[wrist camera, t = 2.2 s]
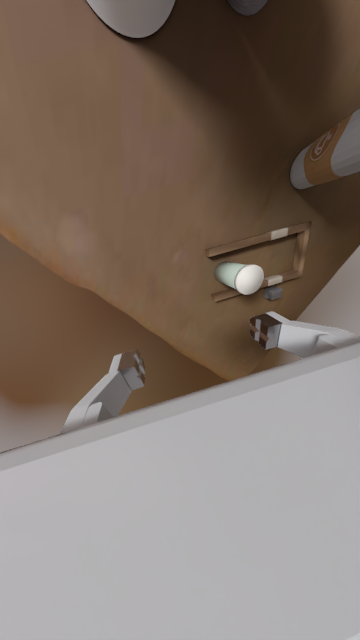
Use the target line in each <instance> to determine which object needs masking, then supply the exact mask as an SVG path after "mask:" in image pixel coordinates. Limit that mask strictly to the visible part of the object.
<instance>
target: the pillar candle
mask: <svg viewBox="0 0 360 640" xmlns="http://www.w3.org/2000/svg"><path fill="white" fill-rule="evenodd" d="M227 1H228V3H229V4H230V6H231V7H232V8H233V9H234V10H235V11H237V13H239V14H241V15H245V16H249V15H253V14H255V13H257V12H258V11H260V10H261V9H262V8H263V7H264V5H265V4H266V3H267V1H268V0H227Z"/></svg>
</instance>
